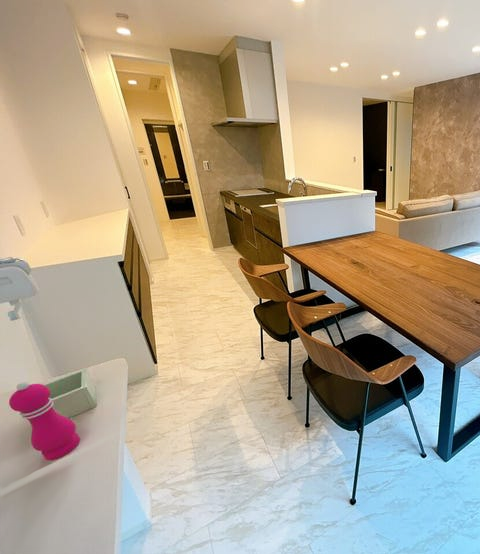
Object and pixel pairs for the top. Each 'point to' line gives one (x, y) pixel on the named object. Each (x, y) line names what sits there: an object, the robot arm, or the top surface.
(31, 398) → the pepper mill
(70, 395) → the holder
